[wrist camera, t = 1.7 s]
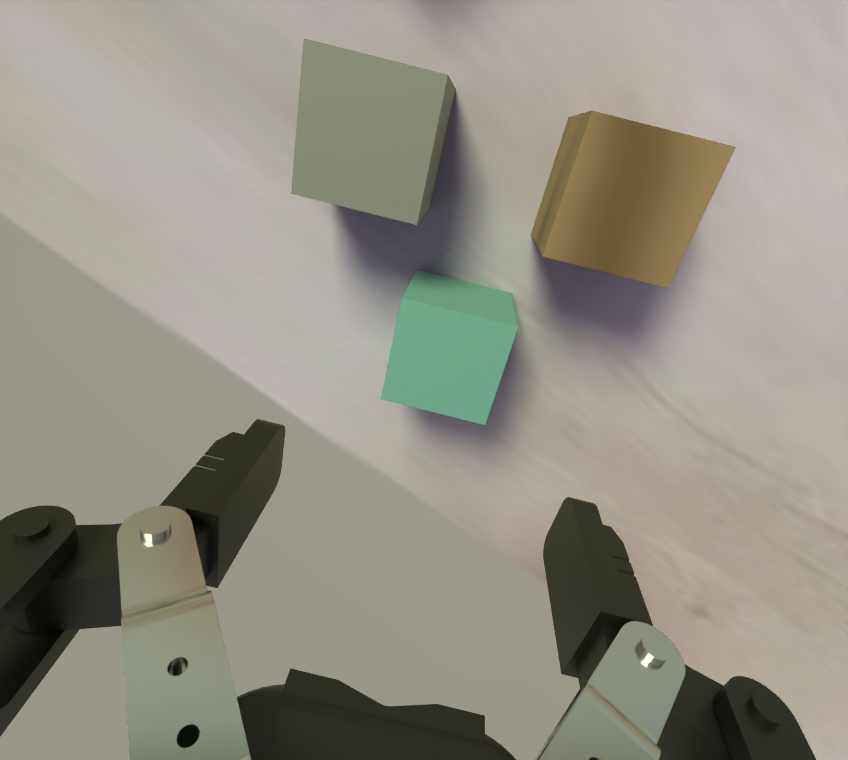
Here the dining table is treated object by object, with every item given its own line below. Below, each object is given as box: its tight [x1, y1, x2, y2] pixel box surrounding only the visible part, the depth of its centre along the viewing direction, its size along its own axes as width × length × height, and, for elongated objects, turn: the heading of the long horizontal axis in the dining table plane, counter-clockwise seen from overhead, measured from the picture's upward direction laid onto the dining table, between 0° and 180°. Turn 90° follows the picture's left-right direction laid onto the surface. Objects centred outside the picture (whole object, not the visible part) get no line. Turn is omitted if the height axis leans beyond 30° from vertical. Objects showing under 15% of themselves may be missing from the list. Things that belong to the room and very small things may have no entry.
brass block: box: [531, 111, 736, 288], centre depth 19 cm, size 5×5×5 cm
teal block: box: [381, 270, 518, 425], centre depth 23 cm, size 5×5×5 cm
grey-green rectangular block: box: [291, 39, 456, 225], centre depth 19 cm, size 5×5×5 cm
